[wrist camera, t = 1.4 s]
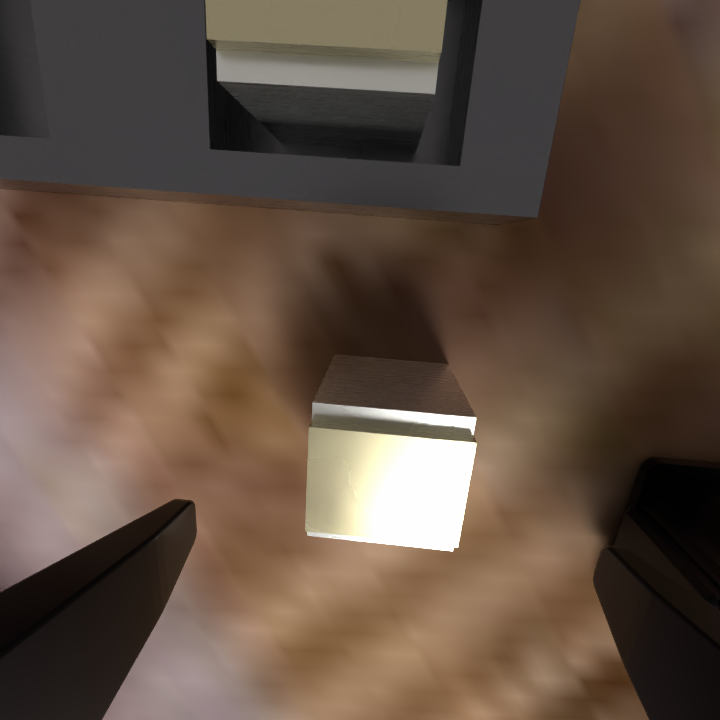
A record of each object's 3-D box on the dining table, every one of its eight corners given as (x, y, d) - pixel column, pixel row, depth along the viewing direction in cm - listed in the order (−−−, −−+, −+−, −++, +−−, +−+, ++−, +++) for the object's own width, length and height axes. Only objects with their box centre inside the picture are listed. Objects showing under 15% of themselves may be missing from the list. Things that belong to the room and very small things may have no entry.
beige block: (433, -21, 10) (474, -247, 6) (416, 151, 12) (437, 85, 7) (281, -29, 11) (195, -255, 6) (280, 142, 12) (208, 71, 7)
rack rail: (550, -93, 10) (630, -256, 7) (497, 224, 13) (537, 217, 9) (-156, -121, 11) (-393, -281, 8) (-82, 182, 13) (-239, 161, 10)
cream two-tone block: (448, 363, 14) (480, 424, 9) (433, 463, 15) (455, 562, 11) (335, 353, 14) (309, 408, 9) (329, 452, 16) (304, 546, 11)
